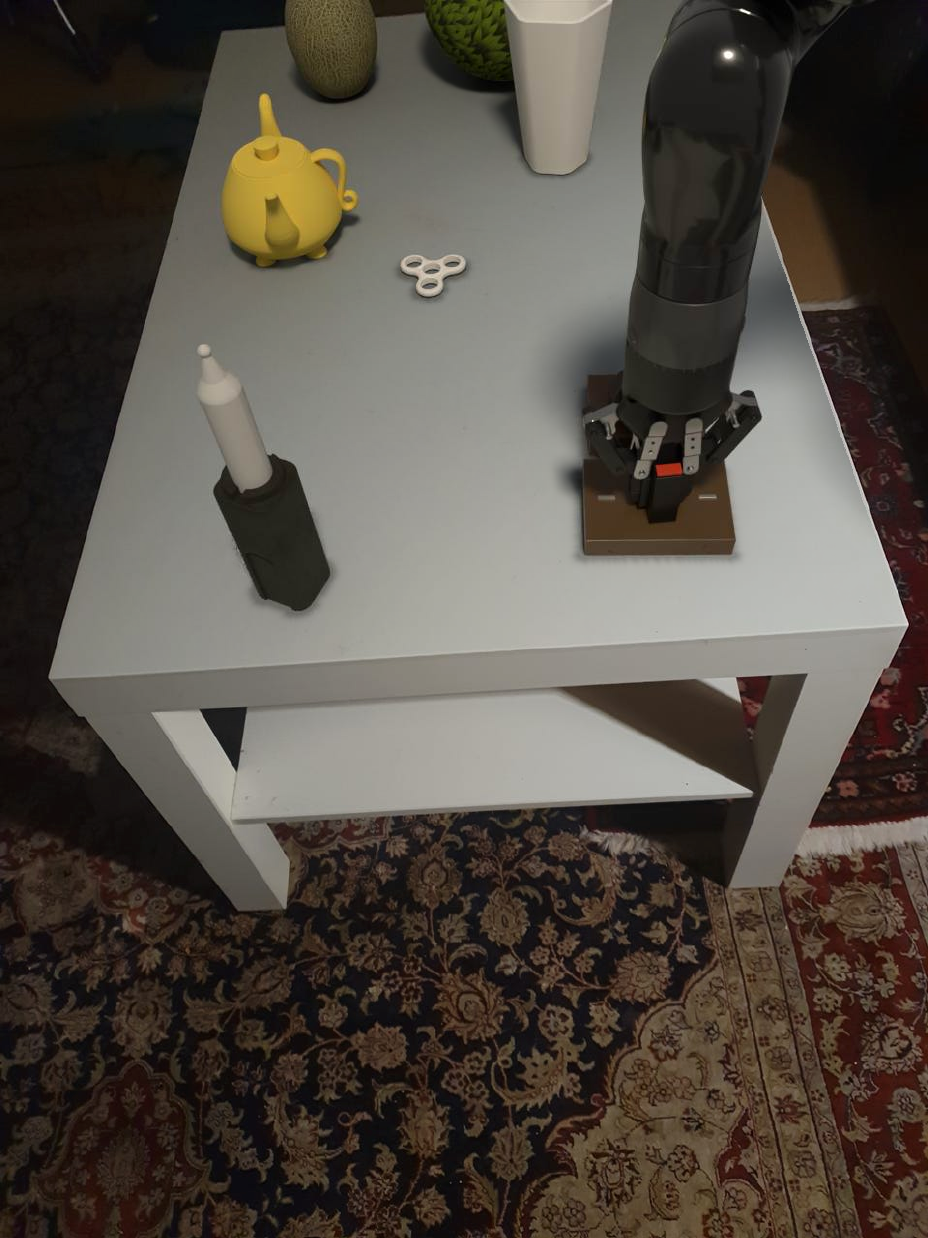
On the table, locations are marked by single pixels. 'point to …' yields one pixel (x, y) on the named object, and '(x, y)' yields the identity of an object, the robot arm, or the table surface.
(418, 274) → the fidget spinner
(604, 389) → the block
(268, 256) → the teapot
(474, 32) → the decorative ball
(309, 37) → the fruit
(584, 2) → the cup
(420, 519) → the table surface
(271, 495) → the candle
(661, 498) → the thumbturn
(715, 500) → the plate
